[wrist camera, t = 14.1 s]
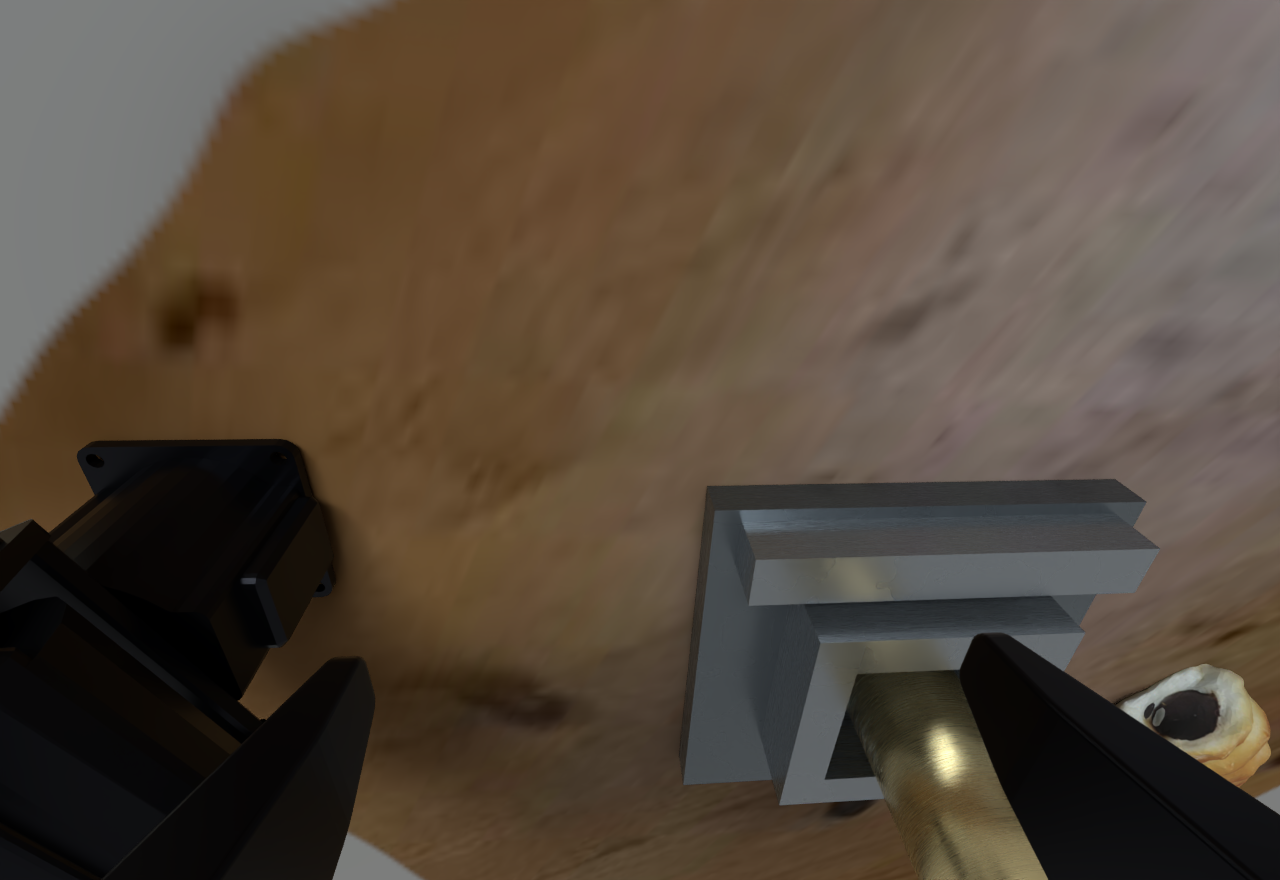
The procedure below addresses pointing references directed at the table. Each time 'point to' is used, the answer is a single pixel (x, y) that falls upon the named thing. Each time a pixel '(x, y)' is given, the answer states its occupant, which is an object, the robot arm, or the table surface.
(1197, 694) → the pastry
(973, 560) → the jig
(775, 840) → the table surface
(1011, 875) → the sleeve
